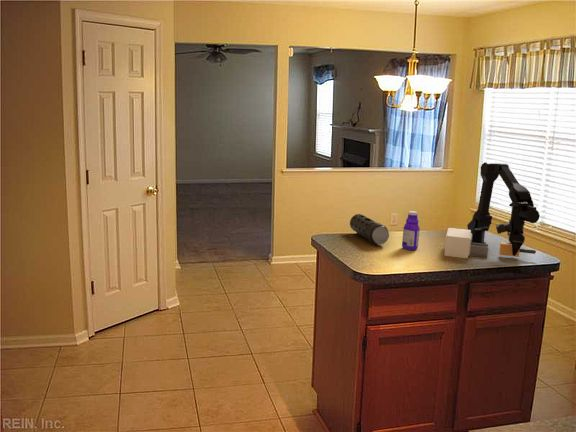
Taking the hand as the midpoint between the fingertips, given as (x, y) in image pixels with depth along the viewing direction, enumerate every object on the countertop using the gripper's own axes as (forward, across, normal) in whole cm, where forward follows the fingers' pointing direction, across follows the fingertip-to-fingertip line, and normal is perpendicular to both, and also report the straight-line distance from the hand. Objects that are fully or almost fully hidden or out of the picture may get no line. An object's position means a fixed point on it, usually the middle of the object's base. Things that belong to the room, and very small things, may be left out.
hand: (513, 253), depth 259 cm
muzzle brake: (+3, -4, -65) cm, 65 cm away
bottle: (+3, +4, -44) cm, 45 cm away
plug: (+1, 0, +2) cm, 2 cm away
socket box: (+3, 0, -20) cm, 20 cm away
